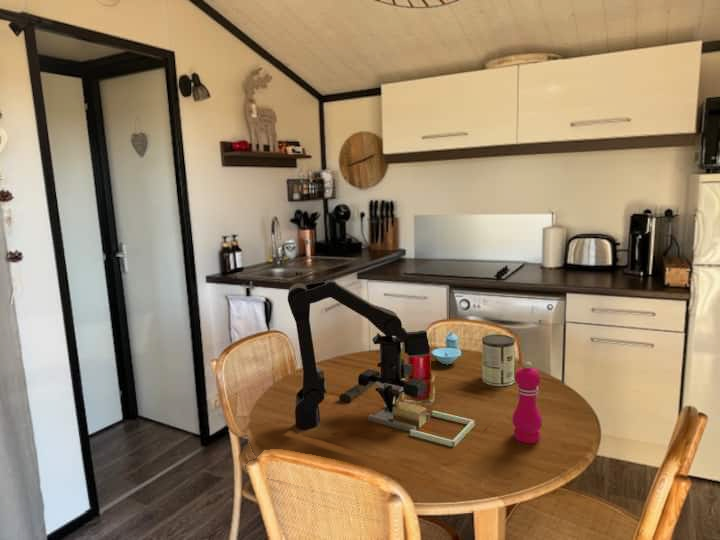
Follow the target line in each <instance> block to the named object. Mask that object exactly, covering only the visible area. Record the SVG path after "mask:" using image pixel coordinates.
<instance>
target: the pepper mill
mask: <svg viewBox="0 0 720 540" xmlns="http://www.w3.org/2000/svg"><path fill="white" fill-rule="evenodd" d="M523 365H524V366H523V367H520V368H519V369H518V370H517V371H516V372H515V374H514V381H515V382H516V384H517V387H516V391H517V393H518V396H519V397H518V398H519V399H518V404H517V405H516V407H515V410H514V412H513V415H512V417H511V418H512V420H511V422H512V425H513V426H514V430H513V436H514V439H515V440H517V441H519V442H520V443H525V444H534V443H538V442H539V441H540V439H541V431H540V429H541V428H542V426H543V418H542V417H543V416H542V414H541V412H540V410H539V408H538V405H537V395H538V393H539V387H538V386H539V385H540V384H541V381H542V379H541V375H540V372H539V371H538V370H537V369H536V368H534V367H532V366H533V364H532V363H531V362H530V361H526V362H524V364H523Z"/></svg>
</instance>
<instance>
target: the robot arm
mask: <svg viewBox="0 0 720 540" xmlns="http://www.w3.org/2000/svg"><path fill="white" fill-rule="evenodd" d="M328 298H329V299H330V298H331V299H333V300H335V301H336V302H338V303H340V304H341V305H343V306H345V307H347V308H348V309H350V310H352V311H353V312H355V313H357V314H358V315H360V316H361V317H364V318H365V319H367V320H368V321H369V322H370V323H371V324H372V325H373V326H374V327H375V328H376V329H377V330H379V331H380V332H381V333H382V335H381V334H380V333H379V332H377V333H376V335H375V336H374V337H372V339H371V340H372V342H373V344H374V345H379V362H377V367H378V368H380V370H379V371H378V370H375V369H370V368H368V369H366V370H365V371H362V372H361V373H359V374H358V376H357V384H359V385H363V386H367V385H368V384H369V383H370V382H369V381H372V382H375V384H376V388H375V392H378V394H379V395H380V397H381V398H382V400H383V402H384V404H386V406H387V407H388V409H389V411H390V412H393V407H394V406H395V405H396V404H398V400H399V398H400V396H401V394H402V393H404V395H405V396H407V397H413V398H418V397H419V396H420V395H422V394H423V393H424V392H426V391H427V383H426V382H425V380H423V379H420V378H419V379H418V378H414V377H412V378H411V379H409V380H408V381H407V380H405V379H406V378H407V376H408V377H411V376H412V371H413V370H412V368H413V364H410V363H405V361H404V359H402V352H403V354H406V356H407V358H412V357H413V358H415V357H426V356H427V357H428V356H430V351H431V349H430V348H431V347H430V344H429V338H428V332H427V331H426V330H425V329H424V330H423V329H422V330H419V331H407V330H406V329H405V327H403V324H402V320H401V319H400V317H399V316H398V315H397V313H396V312H395V311H393V310H391V309H387V308H385V307H383V306H378V305H375V304H373V303H371V302H369V301H368V300H366V299H364V298H362V297H361V296H359V295H358V294H356V293H354V292H352V291H350V290H349V289H347V288H346V287H344V286H342V285H340V283H338V282H336V280H334V279H327V280H324V281H317V282H311V283H307V284H304V283H301V282H298V283H294V284H292V285H291V286H290V288H289V289H288V292H287V302H288V305H289V309H290V311H291V314H292V316H293V319H294V322H295V326H296V332H297V338H298V345H299V346H298V347H299V352H300V358H301V363H302V364H301V365H302V371H303V373H302V387H301V388H300V389H299V391H298V392H296V394H295V407H294V408H295V409H294V415H295V418H294V419H295V429H299V430H302V431H307V430H311V429H314V428H316V427H318V426H319V422H320V421H321V416H320V415H321V414H320V407H319V406H320V404H322V402H323V401H324V400H325V394H326V393H327V382H326V381H325V371H324V370H320V371H319V369H318V367H317V362H316V355H315V347H314V340H313V336H312V335H313V334H312V333H313V332H312V328H311V319H310V316H311V315H310V310H311V304H316V303H317V302H320V301H322V300H325V299H328Z"/></svg>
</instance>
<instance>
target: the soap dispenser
mask: <svg viewBox="0 0 720 540" xmlns="http://www.w3.org/2000/svg"><path fill="white" fill-rule="evenodd" d="M458 338H459V337H458V335H456V334H455V333H454V332H453V331H449V334H447V335H446V336H445V339H446V340H445V342H444V343H445V347H438V348H434V349H433V350H431V354H432V356H434V357H435V358H436V359H437V360H438V362H440V363H441V364H442V365H443V364H446V365H445V366H449V365H448V364H450V365H451V364H452V363H453V362H454V361H455V360H456V359H458V358H457V357H459V356H461V357H462V349H460V347H459V341H458Z"/></svg>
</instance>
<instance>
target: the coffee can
mask: <svg viewBox="0 0 720 540" xmlns="http://www.w3.org/2000/svg"><path fill="white" fill-rule="evenodd" d="M515 342H516V339H515V337H513V336H510V335H507V334H488V335H483V337H482V338H481V343H482V344H481V350H482V351H481V353H482V356H481V357H482V358H481V359H482V364H481V365H482V371H481V372H482V374H481V375H482V379H481V381H482V382H483V383H484V384H486V385H488V386H493V387H507V386H511V385H513V384H514V383H515Z"/></svg>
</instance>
